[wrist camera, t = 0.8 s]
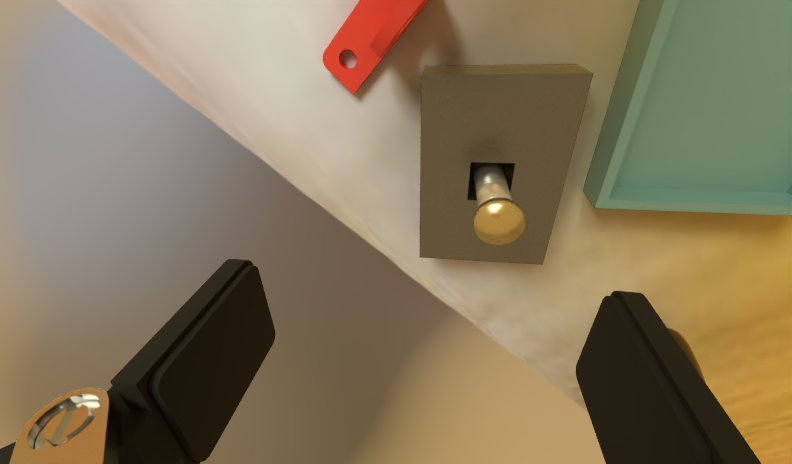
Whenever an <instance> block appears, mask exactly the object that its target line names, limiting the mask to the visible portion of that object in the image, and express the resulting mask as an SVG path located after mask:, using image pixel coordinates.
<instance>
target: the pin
mask: <svg viewBox="0 0 792 464" xmlns="http://www.w3.org/2000/svg"><path fill="white" fill-rule="evenodd" d="M473 172H474V180H475V188H476V196H477V204H478V208H477V209H476V211H475V213H474V218H473V221H474V230H475V233H476V235H477V236H478V237H479V238H480V239H481V240H482V241H484V242H486V243H488V244H492V245H504V244H508V243H510V242H512V241H514V240H516V239H517V238H518V237H519V236H520V235H521V234H522V232H523V230H524V228H525V218H524V215H523V212H522V209H521V207H520V206H519V205H518V204H517V203H516V202H515V201H513V200H512V198H511V195H510V191H509V188H508V185H507V181H506V178H505V175H504V171H503V168H502V165H501V163H485V162H473Z"/></svg>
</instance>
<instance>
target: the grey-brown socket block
mask: <svg viewBox="0 0 792 464" xmlns="http://www.w3.org/2000/svg"><path fill="white" fill-rule="evenodd" d="M592 76H593V73H592V72H590V71H588V70H586V69H584V68H582V67H580V66H578V65H576V64H536V65H457V66H425V68H424V70H423V72H422V75H421V175H420V257H423V258H440V259H457V260H474V261H491V262H508V263H525V264H541V265H543V262H544V258H545V254H546V250H547V246H548V243H549V239H550V235H551V231H552V227H553V224H554V220H555V216H556V212H557V209H558V205H559V201H560V197H561V193H562V190H563V186H564V182H565V178H566V175H567V171H568V167H569V163H570V159H571V156H572V152H573V148H574V144H575V141H576V137H577V133H578V129H579V125H580V122H581V118H582V114H583V110H584V106H585V103H586V99H587V95H588V91H589V88H590V84H591V80H592ZM471 162H485V163H506V164H505V170H504V175H505V178H506V181H507V185H508V188H509V191H510V195H511V198H512V200H513V201H515V202H516V203H517V204H518V205H519V206H520V207H521V209H522V212H523V215H524V218H525V228H524V230H523V232H522V234H521V235H520V236H519V237H518V238H517V239H516V240H514V241H512V242H510V243H508V244H504V245H492V244H488V243H486V242H484V241H482V240H481V239H480V238H479V237H478V236H477V235H476V233H475V230H474V221H473V218H474V213H475V211H476V209H477V208H478V204H477V196H476V188H475V180H469V176H470V165H471Z"/></svg>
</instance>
